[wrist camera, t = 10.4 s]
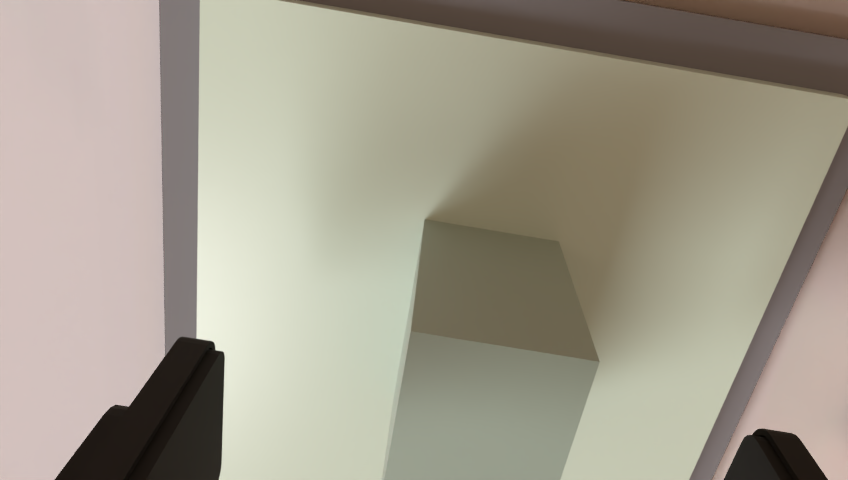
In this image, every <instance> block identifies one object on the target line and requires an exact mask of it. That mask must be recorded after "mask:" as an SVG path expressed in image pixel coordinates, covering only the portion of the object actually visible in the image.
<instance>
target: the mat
mask: <svg viewBox="0 0 848 480" xmlns="http://www.w3.org/2000/svg"><path fill="white" fill-rule="evenodd" d="M300 1H306V2H311V3H317V4H323V5H329V6H335V7H340V8H346V9H352V10H358V11H363V12H369V13H375V14H381V15H387V16H392V17H398V18H404V19H410V20H416V21H421V22H427V23H433V24H439V25H444V26H450V27H456V28H462V29H468V30H473V31H479V32H485V33H491V34H496V35H502V36H508V37H514V38H520V39H525V40H531V41H537V42H543V43H549V44H554V45H560V46H566V47H572V48H577V49H583V50H589V51H595V52H601V53H606V54H612V55H618V56H624V57H629V58H635V59H641V60H647V61H653V62H658V63H664V64H670V65H676V66H682V67H687V68H693V69H699V70H705V71H710V72H716V73H722V74H728V75H734V76H739V77H745V78H751V79H757V80H762V81H768V82H774V83H780V84H786V85H791V86H797V87H803V88H809V89H815V90H820V91H826V92H832V93H838V94H843V95H846V96H848V39H843V38H837V37H832V36H826V35H820V34H814V33H808V32H803V31H797V30H791V29H785V28H779V27H774V26H768V25H762V24H756V23H751V22H745V21H739V20H733V19H727V18H722V17H716V16H710V15H704V14H699V13H693V12H687V11H681V10H675V9H670V8H664V7H658V6H652V5H646V4H641V3H635V2H629V1H623V0H300ZM159 16H160V74H161V133H162V192H163V251H164V309H165V356H166V354H167V353H168V352H169V350H170V349H171V347H172V346H173V345H174V343H175V342H176V340H177V339H178V338H179V337H182V336H183V337H189V338H195V339H196V336H197V236H198V135H199V35H200V0H159ZM847 189H848V127H847V129H846V131H845V134H844V136H843V138H842V140H841V143H840V145H839V147H838V149H837V151H836V154H835V156H834V158H833V160H832V163H831V165H830V167H829V169H828V172H827V174H826V176H825V178H824V180H823V183H822V185H821V187H820V189H819V192H818V194H817V196H816V198H815V201H814V203H813V205H812V207H811V209H810V212H809V214H808V216H807V218H806V221H805V223H804V225H803V227H802V229H801V232H800V234H799V236H798V238H797V241H796V243H795V245H794V247H793V250H792V252H791V254H790V256H789V258H788V261H787V263H786V265H785V267H784V270H783V272H782V274H781V276H780V278H779V281H778V283H777V285H776V287H775V290H774V292H773V294H772V296H771V299H770V301H769V303H768V305H767V307H766V310H765V312H764V314H763V316H762V319H761V321H760V323H759V325H758V328H757V330H756V332H755V334H754V336H753V339H752V341H751V343H750V345H749V348H748V350H747V352H746V354H745V356H744V359H743V361H742V363H741V365H740V368H739V370H738V372H737V374H736V377H735V379H734V381H733V383H732V385H731V388H730V390H729V392H728V394H727V397H726V399H725V401H724V403H723V405H722V408H721V410H720V412H719V414H718V417H717V419H716V421H715V423H714V426H713V428H712V430H711V432H710V434H709V437H708V439H707V441H706V443H705V446H704V448H703V450H702V452H701V455H700V457H699V459H698V461H697V463H696V466H695V468H694V470H693V472H692V475H691V477H690V479H689V480H712V478H713V476H714V474H715V472H716V469H717V467H718V465H719V463H720V461H721V459H722V457H723V454H724V452H725V450H726V448H727V446H728V444H729V442H730V439H731V437H732V435H733V433H734V431H735V429H736V427H737V424H738V422H739V420H740V418H741V416H742V414H743V412H744V409H745V407H746V405H747V403H748V401H749V399H750V397H751V394H752V392H753V390H754V388H755V386H756V384H757V382H758V379H759V377H760V375H761V373H762V371H763V369H764V367H765V364H766V362H767V360H768V358H769V356H770V354H771V352H772V349H773V347H774V345H775V343H776V341H777V339H778V337H779V334H780V332H781V330H782V328H783V326H784V324H785V322H786V319H787V317H788V315H789V313H790V311H791V309H792V307H793V304H794V302H795V300H796V298H797V296H798V294H799V291H800V289H801V287H802V285H803V283H804V281H805V279H806V276H807V274H808V272H809V270H810V268H811V266H812V264H813V261H814V259H815V257H816V255H817V253H818V251H819V249H820V246H821V244H822V242H823V240H824V238H825V236H826V234H827V231H828V229H829V227H830V225H831V223H832V221H833V219H834V216H835V214H836V212H837V210H838V208H839V206H840V204H841V201H842V199H843V197H844V195H845V193H846V191H847Z"/></svg>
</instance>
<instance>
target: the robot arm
mask: <svg viewBox="0 0 848 480" xmlns="http://www.w3.org/2000/svg"><path fill="white" fill-rule="evenodd" d="M224 366H225V355H224V352H223V351H217V350H215V344H214V342H213V341H208V340H202V339H195V338H189V337H183V336H182V337H179V338H178V339H177V340H176V342H175V343H174V345H173V346H172V347H171V349H170V350H169V352H168V353H167V354H166V356H165V357H164V359H163V360H162V361H161V363H160V364H159V366H158V367H157V368H156V370H155V371H154V373H153V374H152V375H151V377H150V378H149V380H148V381H147V382H146V384H145V385H144V387H143V388H142V389H141V391H140V392H139V394H138V395H137V396H136V398H135V399H134V401H133V402H132V403H131V405H130V406H129V407H127V406H120V405H115V406H113V407H111V408H110V409H109V410H108V411H107V412H106V413H105V414H104V415H103V416H102V418H101V419H100V420H99V422H98V423H97V424H96V426H95V427H94V428H93V430H92V431H91V432H90V434H89V435H88V436H87V438H86V439H85V440H84V442H83V443H82V444H81V446H80V447H79V448H78V450H77V451H76V452H75V454H74V455H73V456H72V457H71V459H70V460H69V461H68V463H67V464H66V465H65V467H64V468H63V469H62V471H61V472H60V473H59V475H58V476H57V477H56V479H55V480H219V477H220V472H221V464H222V432H223V399H224ZM724 480H828V479H827V478H826V476H825V475H824V473H823V472H822V470H821V469H820V468H819V466H818V465H817V463H816V462H815V460H814V459H813V457H812V456H811V455H810V453H809V452H808V450H807V449H806V447H805V446H804V444H803V443H802V442H801V440H800V439H799V438H798V437H797V436H796V435H794V434H792V433H787V432H780V431H774V430H768V429H758V430H756V431H755V432H754V433H753V435H747V436H746V437H745V438H744V439H743V441H742V443H741V445H740V447H739V449H738V451H737V453H736V455H735V457H734V459H733V462H732V464H731V466H730V468H729V470H728V472H727V474H726V476H725V478H724Z"/></svg>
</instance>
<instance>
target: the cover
mask: <svg viewBox="0 0 848 480" xmlns="http://www.w3.org/2000/svg"><path fill="white" fill-rule="evenodd" d="M847 127H848V96H846V95H843V94H838V93H832V92H826V91H820V90H815V89H809V88H803V87H797V86H791V85H786V84H780V83H774V82H768V81H762V80H757V79H751V78H745V77H739V76H734V75H728V74H722V73H716V72H710V71H705V70H699V69H693V68H687V67H682V66H676V65H670V64H664V63H658V62H653V61H647V60H641V59H635V58H629V57H624V56H618V55H612V54H606V53H601V52H595V51H589V50H583V49H577V48H572V47H566V46H560V45H554V44H549V43H543V42H537V41H531V40H525V39H520V38H514V37H508V36H502V35H496V34H491V33H485V32H479V31H473V30H468V29H462V28H456V27H450V26H444V25H439V24H433V23H427V22H421V21H416V20H410V19H404V18H398V17H392V16H387V15H381V14H375V13H369V12H363V11H358V10H352V9H346V8H340V7H335V6H329V5H323V4H317V3H311V2H306V1H300V0H200V35H199V135H198V236H197V336H196V339H202V340H208V341H213V342H214V344H215V350H217V351H223V352H224V355H225V366H224V399H223V432H222V464H221V472H220V477H219V480H689V479H690V477H691V475H692V472H693V470H694V468H695V466H696V463H697V461H698V459H699V457H700V455H701V452H702V450H703V448H704V446H705V443H706V441H707V439H708V437H709V434H710V432H711V430H712V428H713V426H714V423H715V421H716V419H717V417H718V414H719V412H720V410H721V408H722V405H723V403H724V401H725V399H726V397H727V394H728V392H729V390H730V388H731V385H732V383H733V381H734V379H735V377H736V374H737V372H738V370H739V368H740V365H741V363H742V361H743V359H744V356H745V354H746V352H747V350H748V348H749V345H750V343H751V341H752V339H753V336H754V334H755V332H756V330H757V328H758V325H759V323H760V321H761V319H762V316H763V314H764V312H765V310H766V307H767V305H768V303H769V301H770V299H771V296H772V294H773V292H774V290H775V287H776V285H777V283H778V281H779V278H780V276H781V274H782V272H783V270H784V267H785V265H786V263H787V261H788V258H789V256H790V254H791V252H792V250H793V247H794V245H795V243H796V241H797V238H798V236H799V234H800V232H801V229H802V227H803V225H804V223H805V221H806V218H807V216H808V214H809V212H810V209H811V207H812V205H813V203H814V201H815V198H816V196H817V194H818V192H819V189H820V187H821V185H822V183H823V180H824V178H825V176H826V174H827V172H828V169H829V167H830V165H831V163H832V160H833V158H834V156H835V154H836V151H837V149H838V147H839V145H840V143H841V140H842V138H843V136H844V134H845V131H846V129H847Z"/></svg>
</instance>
